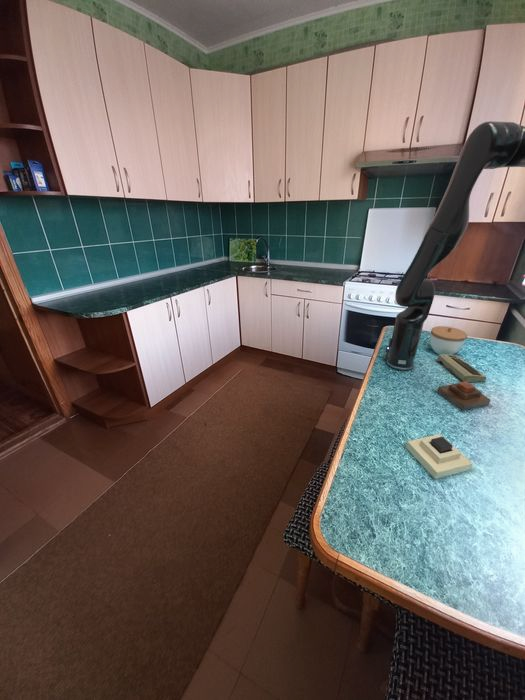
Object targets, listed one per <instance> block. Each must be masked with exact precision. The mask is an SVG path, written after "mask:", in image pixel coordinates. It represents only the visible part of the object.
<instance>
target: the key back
mask: <svg viewBox="0 0 525 700" xmlns="http://www.w3.org/2000/svg"><path fill="white" fill-rule="evenodd" d="M457 383H458V386H457V387H458V388H459V389H461V390H462V391H464V392H465V393H467V392H472V391H474V389H475V388H476V386H475V385H473V384H472V383H471V382H467V381H466V382H462V381H461V382H457Z"/></svg>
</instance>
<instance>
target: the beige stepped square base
mask: <svg viewBox="0 0 525 700" xmlns="http://www.w3.org/2000/svg"><path fill="white" fill-rule="evenodd" d="M438 437H444V436H443V435H442V434H441V433H438V434H434V435H430V436H425V437H421V438H416V439H411V440H408V441H407V442H406V445H405V449H407V451H408V452H409V453H410V454H411V455H412V456H413V457H414V458H415V459H416V460H417V462H418V463H420V465H421V466H422V467H423V468H424V469H425V470H426V471H427V473H429V474H430V476H431V477H432V478H433V479H434V480H437V479H441V478H444V477H448V476H451V475H455V474H456V475H457V474H459V473H463V472H466V471H467V472H468V471H470V470H471V469H472V467H473V465H474V463H473V462H472V461H471V460H470V459H469V458H468V457H467V456H465V455H464V454H463V453H462V452H461V451H460V450H459V449H458V448H456V446H454V445H453V444H452V443H451V442H450V441H449V440H447V441H448V442H449V443H450V444H451V445H453V447H452V449H451V451H449V452H445V453H441V454H440V453H439V452H438V451H437V450H436V449H435V448H434V447H433V446H432V445H431V444H430V443H431V440H432V439H434V438H438Z"/></svg>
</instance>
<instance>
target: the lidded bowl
mask: <svg viewBox="0 0 525 700" xmlns="http://www.w3.org/2000/svg"><path fill="white" fill-rule="evenodd" d="M467 339H468V334H467V333H466V331H464V330H462V329H460V328H456V327H453V326H445V325H439V326H434V327H432V328H431V329H430V334H429V346H430V348H431V349H432V350H433V352H434V353H435V354H437V355H438V356H439V355H440V354H448V355H456V353H458V352H459V351H461V350H462V348H463V346H464V344H465V343H466V340H467Z"/></svg>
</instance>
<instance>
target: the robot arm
mask: <svg viewBox="0 0 525 700" xmlns="http://www.w3.org/2000/svg"><path fill="white" fill-rule="evenodd" d="M500 168H525V125H521V124H519V123H516V122H513V121H495V120H494V121H492V120H491V121H484V122H482V123H480V124H478V125H477V126H476V127H474V129H473V130H472V132H471V133H470V134H469V135H468V137H467V139H466V140H465V142H464V143H463V146H462V148H461V150H460V153H459V156H458V158H457V161H456V164H455V167H454V169H453V172H452V174H451V177H450V180H449V182H448V185H447V187H446V189H445V192H444V194H443V195H442V196H443V197H442V199H441V201H440V203H439V205H438V208H437V210H436V212H435V214H434V216H433V218H432V219H431V221H430V224H429V226H428V228H427V230H426V232H425V234H424V236H423V239H422V241H421V242H420V245H419V247H418V249H417V251H416V253H415V255H414V257H413V258H412V261H411V262H410V265H408V268H407V269H406V271H405V273H404V275H403V276H402V278H401V279H400V281H399V283H398V285H397V287H396V289H395V294H394V295H395V296H394V297H395V298H394V299H395V302H396V304H397V305H398V306H400V307H403V308H405V309H403V310H402V311H400V312H399V313H397V314H396V316H395V320H394V326H393V330H392V335H391V338H389V342H388V345H386V346H385V347H386V348H385V353H386V357H385V361H386V364H387V366H389V367H390V368H391V369H395V370H398V371H410V370H412V369H413V368H414V364H415V359H416V357H417V356H416V355H417V351H418V347H419V343H420V339H421V336H422V331H423V328H424V325H425V322H426V321H427V319H428V317H429V314H430V311H431V308H432V306H433V302H434V299H435V293H436V287H435V285H434V282H433V281H432V279H430V278H427V276H428V274H429V273H430V272H431V271H432V270H433V269H435V268H436V267H437V266H438V265H439V264H440V263H441V262H442V261H444V260H445V259H446V258H447V257H448V256H449V255H451V254H452V252H453V251H454V250H455V249H456V247H457V246H458V244H459V243H460V241H461V239H462V237H463V236H464V234H465V232H466V230H467V229H468V226H469V221H470V199H471V195H472V192H473V189H474V187H475V185H476V183H477V181H478V180H479V177H480V175H481V174H482V172H483V171H484V170H495V169H500Z"/></svg>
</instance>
